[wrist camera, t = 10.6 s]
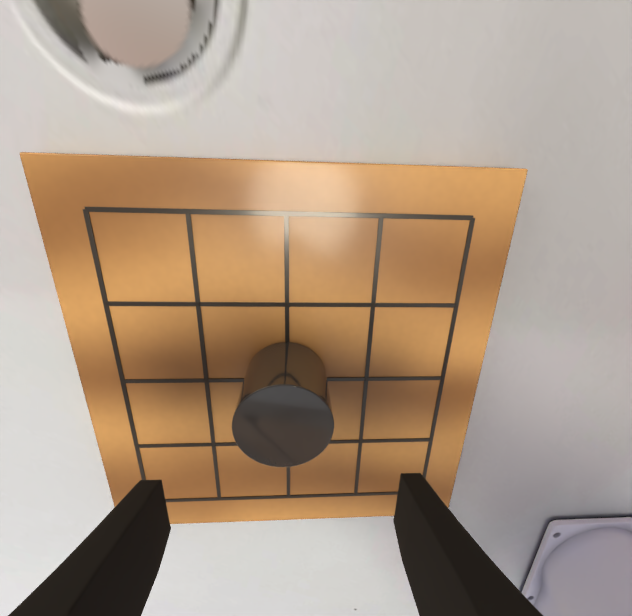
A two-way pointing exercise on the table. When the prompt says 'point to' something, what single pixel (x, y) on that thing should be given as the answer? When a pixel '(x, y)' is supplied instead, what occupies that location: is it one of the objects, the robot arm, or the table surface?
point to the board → (274, 316)
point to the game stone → (284, 407)
